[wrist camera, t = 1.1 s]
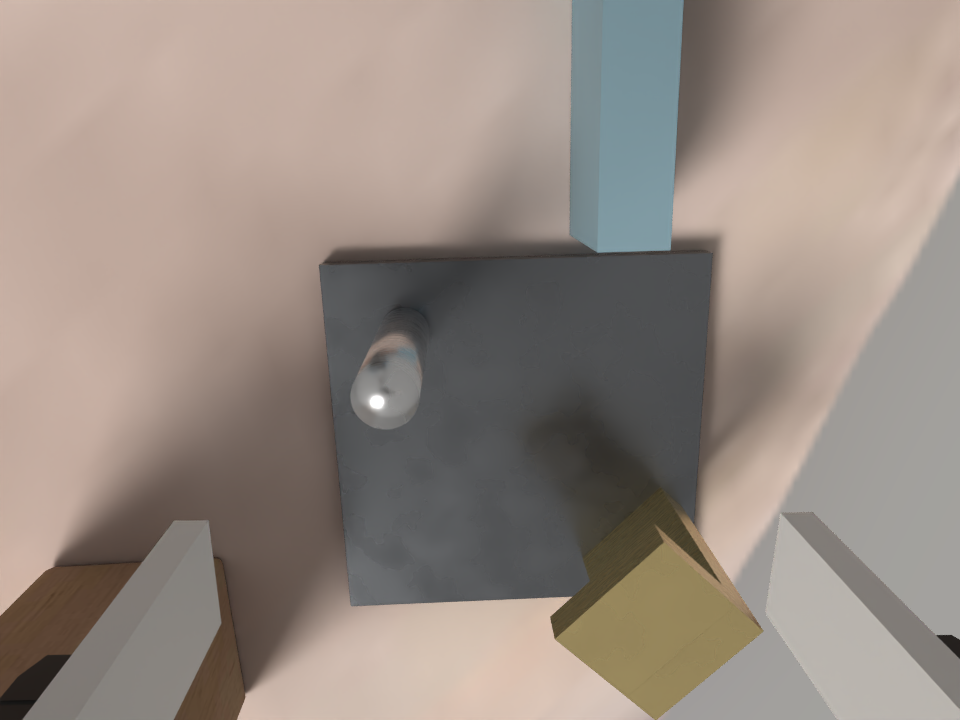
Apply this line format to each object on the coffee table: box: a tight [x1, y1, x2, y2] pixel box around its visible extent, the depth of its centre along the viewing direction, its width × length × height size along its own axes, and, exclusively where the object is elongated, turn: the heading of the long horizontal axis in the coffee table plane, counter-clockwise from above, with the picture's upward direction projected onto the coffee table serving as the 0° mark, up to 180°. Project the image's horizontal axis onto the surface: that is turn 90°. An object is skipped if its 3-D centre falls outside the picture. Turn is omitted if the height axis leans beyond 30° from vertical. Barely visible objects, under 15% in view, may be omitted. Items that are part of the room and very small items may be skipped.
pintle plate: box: [319, 251, 763, 720], centre depth 32 cm, size 20×20×11 cm
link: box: [570, 0, 684, 253], centre depth 28 cm, size 18×7×7 cm, turn 2°
